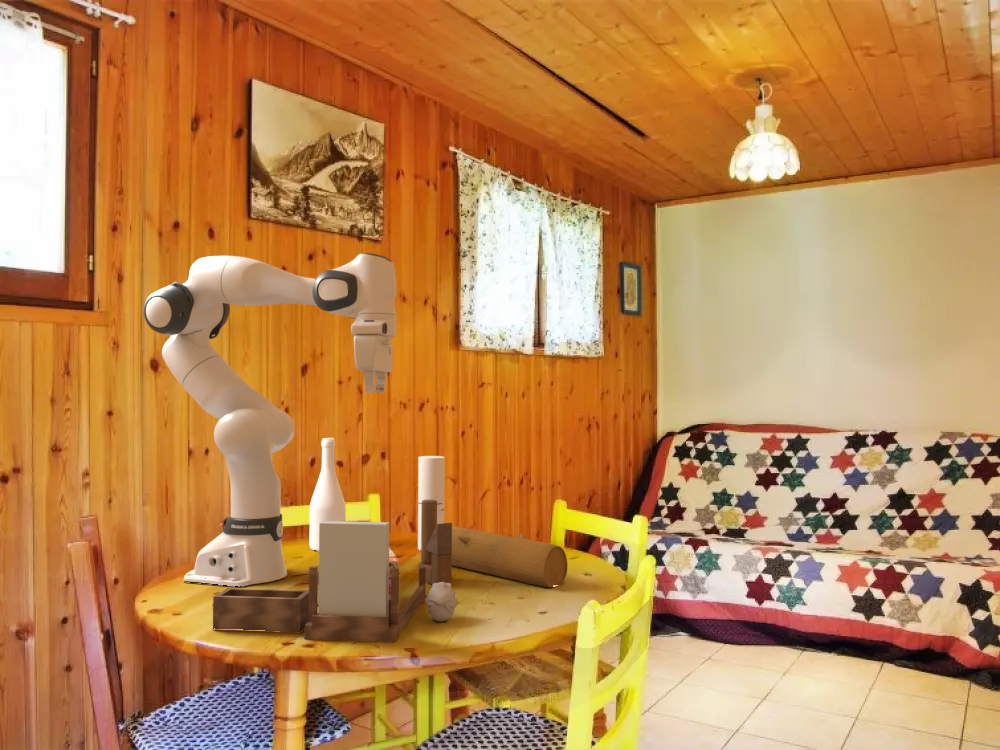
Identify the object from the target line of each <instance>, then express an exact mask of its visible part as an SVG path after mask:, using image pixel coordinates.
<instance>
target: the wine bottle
mask: <svg viewBox="0 0 1000 750" xmlns="http://www.w3.org/2000/svg"><path fill="white" fill-rule="evenodd" d="M320 445H321V448H322V450H321V469H320V473H319V476H318V479H317V482H316V485H315V488H314V491H313V494H312V496H311V501H310V504H309V536H308V537H309V542H308V543H309V548H310V550H312V551H314V550H317V551H316V552H319V523H321V522H323V521H346V511H347V510H346V502H345V497H344V495H343V491H342V488H341V485H340V483H339V480H338V477H337V472H336V468H335V447H336V440H335V438H334V437H323V438H322V440H321V444H320Z"/></svg>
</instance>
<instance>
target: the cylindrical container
mask: <svg viewBox="0 0 1000 750" xmlns="http://www.w3.org/2000/svg"><path fill="white" fill-rule="evenodd" d="M445 459H446V457H445V456H442V455H423V456H422V455H420V456H418V469H417V470H418V472H417V473H418V479H417V480H418V486H417V487H418V488H417V490H418V491H417V494H418V495H417V497H418V498H417V502H418V503H417V505H418V506H417V510H418V511H417V550H418V549H419V550H418V551H420V550H421V521H422V501H423V500H436V501H437V524H441V523H445V481H446V480H445V479H446V477H445V471H446V470H445V469H446V468H445V467H446V466H445V462H446V461H445Z"/></svg>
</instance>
